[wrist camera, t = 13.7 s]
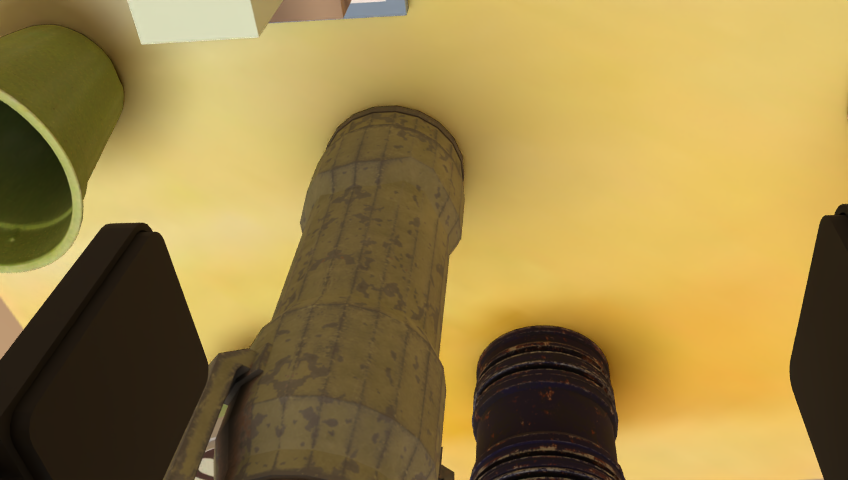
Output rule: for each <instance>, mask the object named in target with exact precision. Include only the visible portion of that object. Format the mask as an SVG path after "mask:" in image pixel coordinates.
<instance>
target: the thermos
mask: <svg viewBox="0 0 848 480" xmlns="http://www.w3.org/2000/svg"><path fill="white" fill-rule="evenodd" d="M463 181H464V169H463V157H462V154H461V152H460V150H459V148H458V146H457V144H456V141H455V139H454V138H453V137H452V135H451V134H450V133H449V132H448V131H447V130H446V129H445V128H444V127H443V126H442V125H441V124H440V123H439V122H438V121H436V120H434V119H432V118H431V117H429V116H427V115H425V114H423V113H422V112H420V111H417V110H412V109H408V108H404V107H400V106H383V107H373V108H370V109H367V110H364V111H362V112H359V113H356V114H354V115H352V116H351V117H350V118H349V119H347V120H346V121H345V122H344V123H343V124H341V125H340V126H339V127H338V128H337V130H336V131H335V133H334V135H333V136H332V138H331V140H330V141H329V143H328V145H327V148H326V151H325V153H324V154H323V156H322V158H321V159H320V161H319V163H318V165H317V167H316V169H315V172H314V175H313V177H312V180H311V183H310V185H309V188H308V191H307V194H306V198H305V203H304V207H303V212H302V216H301V221H300V225H301V229H302V237H301V239H300V242H299V245H298V248H297V251H296V253H295V256H294V259H293V262H292V265H291V267H290V270H289V273H288V276H287V278H286V281H285V284H284V287H283V290H282V292H281V295H280V298H279V301H278V303H277V306H276V309H275V312H274V315H273V317H272V320H271V322H269V323H268V324H267V325H266V326H264V327H263V328H262V329H261V331H260V332H259V334H258V336H257V337H256V339H255V340H254V342H253V343H252V345H251V347H250V349H243V350H236V351H230V352H224V353H219V354H218V355H217V356H216V357H215V358H214V360H213V361H212V362H211V363H210V364H209V365H208V369H209V370H208V380H207V383H206V386H205V388H204V390H203V393H202V395H201V397H200V399H199V401H198V404H197V406H196V408H195V410H194V412H193V415H192V417H191V419H190V421H189V423H188V426H187V428H186V430H185V432H184V434H183V437H182V439H181V441H180V443H179V445H178V448H177V450H176V452H175V454H174V456H173V458H172V461H171V463H170V465H169V467H168V469H167V472H166V474H165V476H164V478H163V480H194V479H195V477H196V474H197V471H198V469H199V466H200V464H201V461H202V458H203V456H204V453H205V451H206V448H207V445H208V443H209V440H210V438H211V435H212V433H213V430H214V427H215V425H216V422H217V420H218V417H219V414H220V412H221V409H222V407H223V404H225V405H227V406H228V407H227V410H226V412H225V415H224V418H223V420H222V423H221V426H220V428H219V431H218V434H217V436H216V439H215V449H214V460H213V467H214V480H454V472H453V471H451V470H449V469H448V468H446V467H445V466H443V465H441V460H442V449H443V447H441V443H442V432H443V421H444V410H445V398H446V384H445V376H444V368H443V366H442V364H441V362H440V360H439V350H440V341H441V331H442V322H443V312H444V302H445V293H446V283H447V274H448V264H449V255H450V254H451V253H452V252H453V250H454V249H455V248H456V246H457V245H458V243H459V241H460V240H461V235H462V223H463V212H464V201H465V198H464V186H463Z"/></svg>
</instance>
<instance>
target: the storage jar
mask: <svg viewBox="0 0 848 480" xmlns="http://www.w3.org/2000/svg"><path fill="white" fill-rule="evenodd" d="M472 427H473V433H474V437H475V440H476V442H477V445H476V463H475V465H474V467H473V469H472V474H471V477H470V480H625V478H624V475H623V472H622V469H621V467H620V465H619V464H618V462H617V454H616V446H615V440H616V437H617V430H618V416H617V412H616V406H615V399H614V392H613V389H612V386H611V383H610V375H609V368H608V363H607V360H606V357H605V356H604V354H603V352H602V351H601V349H600V348H599V347H598V346H597V345H596V344H595V343H594V342H592V341H591V340H590V339H588V338H587V337H585V336H583V335H581V334H579V333H577V332H574V331H572V330H569V329H565V328H561V327H554V326H531V327H524V328H520V329H516V330H514V331H511V332H508V333H506V334H504V335H502V336H500V337H498V338H497V339H496V340H494V341H493V342H492V343H491V344H490V345H489V346H488V347H487V348H486V349H485V350H484V352H483V353H482V355H481V357H480V359H479V361H478V366H477V383H476V388H475V392H474V401H473V416H472Z"/></svg>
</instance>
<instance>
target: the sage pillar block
mask: <svg viewBox="0 0 848 480" xmlns="http://www.w3.org/2000/svg"><path fill="white" fill-rule="evenodd" d="M282 1H283V0H127V2H128V5H129V8H130V11H131V14H132V17H133V20H134V23H135V26H136V30H137V33H138V36H139V39H140V42H141V45H142V44H158V43H174V42H191V41H207V40H223V39H240V38H256V37H259V36H260V35H261V33H262V32H263V30H264V29H265V27H266V26H267V24H268V23H269V21H270V19H271V18H272V16H273V15H274V13H275V12H276V10H277V9H278V7H279V6H280V4H281V3H282Z"/></svg>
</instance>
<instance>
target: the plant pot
mask: <svg viewBox="0 0 848 480" xmlns="http://www.w3.org/2000/svg"><path fill="white" fill-rule="evenodd" d="M123 103H124V91H123V86H122V84H121V83H120V80H119V78H118V76H117V73H116V71H115V69H114V66H113V64H112V62H111V60H110V59H109V57H108V56H107V55H106V54H105V53H104V51H103V50H102V49H101V48H99V47H98V46H97V45H96V44H95V43H94V42H92V41H91V40H90V39H88V38H87V37H85V36H84V35H82V34H80V33H78V32H76V31H73V30H71V29H69V28H65V27H62V26H57V25H37V26H32V27H27V28H24V29H22V30H19V31H16V32H13V33H11V34H8V35H6V36H3V37H1V38H0V273H19V272H27V271H31V270H35V269H38V268H41V267H44V266H46V265H49V264H51V263H53V262H54V261H56V260H57V259H59V258H60V257H61V256H63V255H64V254H65V253H66V252H67V251H68V249H69V248H70V247H71V246H72V244H73V243H74V241H75V240H76V237H77V235H78V233H79V230H80V227H81V223H82V219H83V199H84V197H85V194H86V189H87V182H88V180H89V178H90V176H91V174H92V172H93V170H94V168H95V166H96V164H97V162H98V160H99V158H100V156H101V154H102V151H103V149H104V147H105V145H106V143H107V141H108V139H109V137H110V135H111V133H112V131H113V129H114V127H115V125H116V123H117V121H118V119H119V117H120V115H121V112H122V109H123Z"/></svg>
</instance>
